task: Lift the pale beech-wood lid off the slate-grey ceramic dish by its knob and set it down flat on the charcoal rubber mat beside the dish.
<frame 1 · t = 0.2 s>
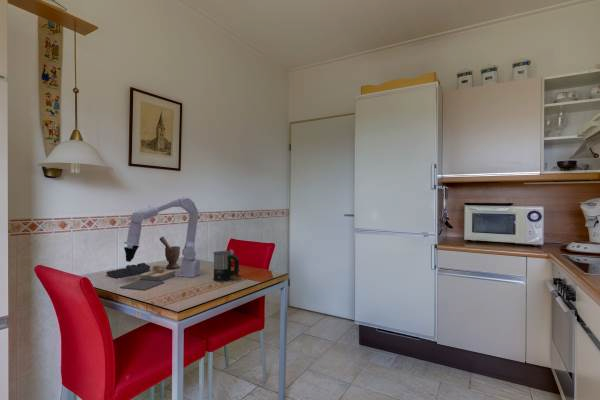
hand: (129, 260, 162), 11 cm above the table, tool pointing down, fingers open, 7 cm apart
milk frother: (226, 278, 171), on the table
mat: (142, 285, 153), on the table
dark slate chunk: (129, 274, 177), on the table
mortar and pestle: (170, 269, 190), on the table
food container: (227, 266, 200), on the table
lid: (158, 273, 168), point 2 cm above the table, touching dish
dish: (158, 277, 168), on the table
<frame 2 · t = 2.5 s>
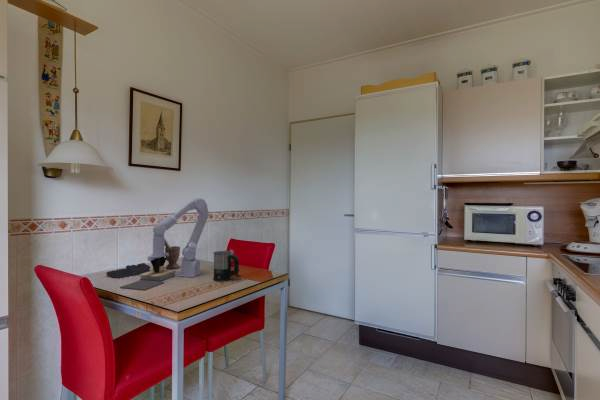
hand: (158, 271, 168), 3 cm above the table, tool pointing down, fingers closed on lid, 2 cm apart
lid: (158, 273, 168), point 2 cm above the table, touching dish, gripper
everything else where it was.
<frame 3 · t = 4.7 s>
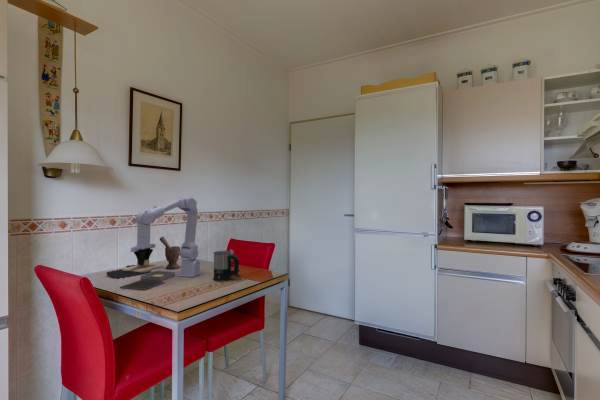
hand: (143, 264, 153), 10 cm above the table, tool pointing down, fingers closed on lid, 2 cm apart
lid: (143, 268, 153), point 8 cm above the table, touching gripper
everything else where it was.
when the fingers open (3 cm above the table, at t = 6.7 s): lid stays where it is, resting on mat.
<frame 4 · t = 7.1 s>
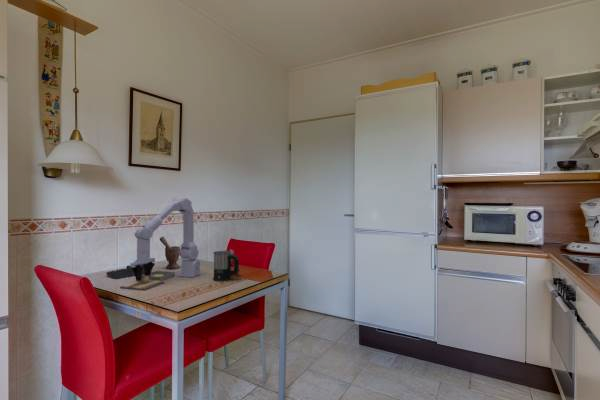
hand: (142, 279, 153), 3 cm above the table, tool pointing down, fingers open, 5 cm apart
lid: (142, 284, 153), resting on mat
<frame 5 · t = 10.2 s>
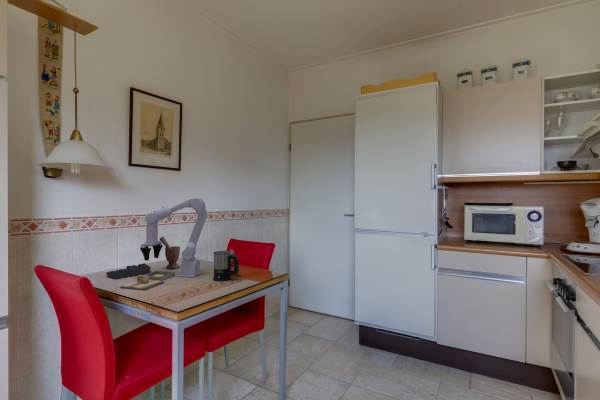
hand: (151, 259, 171), 9 cm above the table, tool pointing down, fingers open, 7 cm apart
at the end: lid inside the target area on the mat (0.0 cm from its centre), point 0.5 cm above the mat's base; lid touching mat; lid tilted 0° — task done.
